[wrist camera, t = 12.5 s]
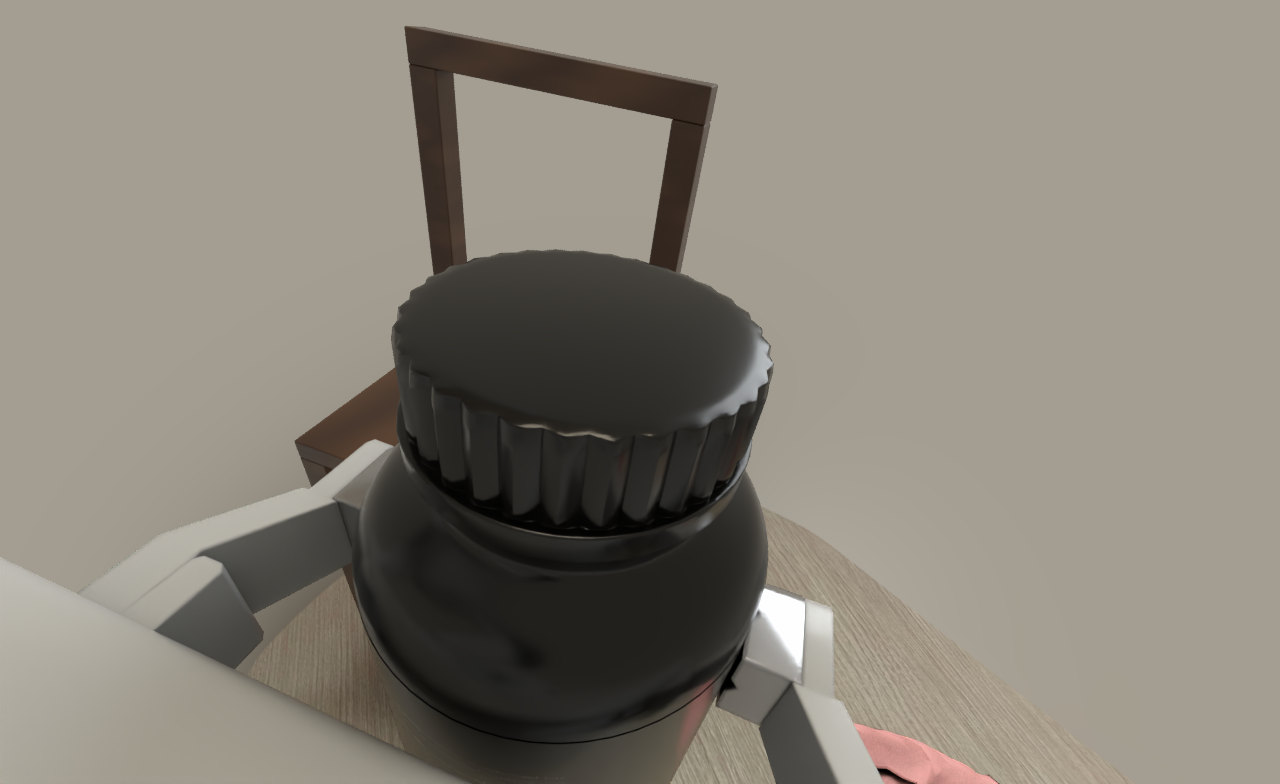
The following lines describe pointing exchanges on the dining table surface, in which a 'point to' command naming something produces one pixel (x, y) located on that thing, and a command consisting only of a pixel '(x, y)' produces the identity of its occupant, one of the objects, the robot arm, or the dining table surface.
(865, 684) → the dining table surface
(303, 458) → the shelf
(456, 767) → the supplement bottle
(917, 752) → the cloth
